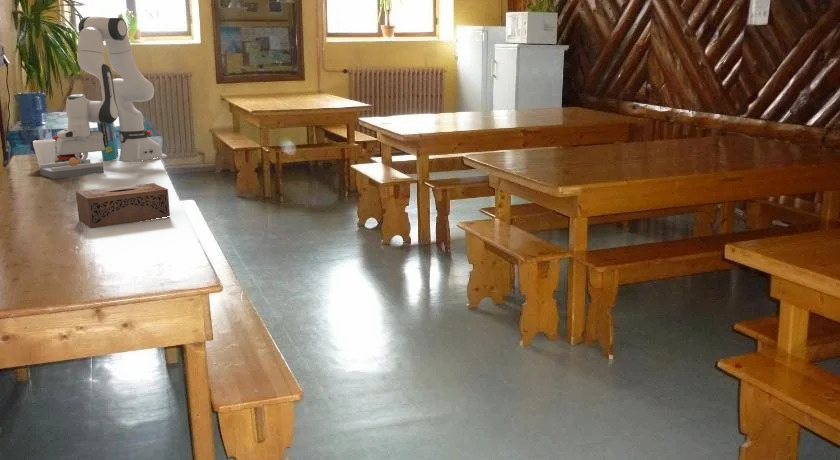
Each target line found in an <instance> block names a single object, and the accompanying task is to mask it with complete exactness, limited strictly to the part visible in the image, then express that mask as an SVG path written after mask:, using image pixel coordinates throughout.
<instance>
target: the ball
mask: <svg viewBox="0 0 840 460" xmlns="http://www.w3.org/2000/svg"><path fill="white" fill-rule="evenodd" d="M68 162H69V165H70V166H74V165H78V160H77V159H76V158H71V159H70V160H69V161H68Z"/></svg>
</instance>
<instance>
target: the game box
mask: <svg viewBox="0 0 840 460" xmlns="http://www.w3.org/2000/svg"><path fill="white" fill-rule="evenodd" d="M114 122H115V121H114ZM114 122H113V123H112V124H105V123H96V124H97V130H99V131H101V132H102V134H103V142H104V150H103V151H101V157H102V162H106V161H115V160H117V158H118V156H119V155H120V152H119V146H118V141H117V134H116V128H115V123H114ZM101 132H99V133H101Z"/></svg>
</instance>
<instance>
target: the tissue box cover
mask: <svg viewBox="0 0 840 460" xmlns="http://www.w3.org/2000/svg"><path fill="white" fill-rule="evenodd" d="M75 196H76V206H77V215H78V216H77V217H78V221H79V222H80V223H81V224H84V225H85V226H86V227H88V228H89V229H96V228H105V227H110V226H119V225H126V224H127V225H128V224H133V223H134V222H135V223H140V221H142V222H147V221H146V220H150V221H152V220H151V219H156V218H162V217H167V216H170V217H171V213H170V199H169V189H168V188H167V187H164V186H161V185H159V184H157V183H154V182H153V183H152V182H151V183H143V184H142V183H141V184H132V185H123V186H115V187H113V186H112V187H106V188H95V189H86V190H77V191H75ZM135 223H134V224H135Z"/></svg>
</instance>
